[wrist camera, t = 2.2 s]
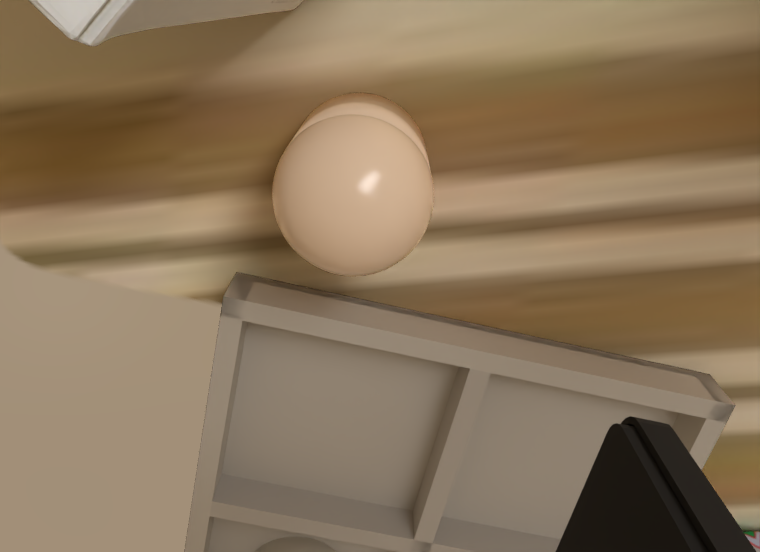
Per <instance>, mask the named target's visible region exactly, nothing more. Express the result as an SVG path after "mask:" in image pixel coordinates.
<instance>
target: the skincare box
mask: <svg viewBox="0 0 760 552" xmlns="http://www.w3.org/2000/svg"><path fill="white" fill-rule="evenodd" d="M29 1H30V2H31V3H32V4H33V5H34V6H35V7H36V8H37V9H38V10H39V11H40V12H41V13H42V14H43V15H44V16H45V17H46V18H47V19H48V20H50V21H51V22H52V23H53V24H54V25H55V26H57V27H58V28H59V29H60V30H61V31H62V32H63V33H64V34H65V35H66V36H67V37H68V38H70V39H72V40H75V41H78V42H80V43H83V44H85V45H88V46H98V45H99V44H101V43H103V42H104V41H106V40H108V39H111V38H113V37H117V36H121V35H125V34H130V33H134V32H139V31H144V30H149V29H155V28H163V27H170V26H178V25H186V24H193V23H201V22H208V21H215V20H221V19H228V18H235V17H243V16H250V15H257V14H264V13H271V12H282V11H289V10H294V9H295V8H296V7H297V6H298V5H300V4H301V3H302V2H303V1H304V0H29Z"/></svg>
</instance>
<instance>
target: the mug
mask: <svg viewBox="0 0 760 552" xmlns="http://www.w3.org/2000/svg"><path fill="white" fill-rule="evenodd" d="M743 533H744V534H745V536H746V537H747V539H748V540H749V541H750V543H751V544H752V546H753V547H754V549H755V550H756V552H760V531H748V532H743Z"/></svg>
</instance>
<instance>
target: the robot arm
mask: <svg viewBox="0 0 760 552" xmlns="http://www.w3.org/2000/svg"><path fill="white" fill-rule="evenodd" d="M556 552H756V550H755V549H754V547H753V546H752V544H751V543H750V541H749V540H748V539H747V537H746V536H745V534H744V533H743V531H742V530H741V528H740V527H739V525H738V524H737V522H736V521H735V519H734V518H733V516H732V515H731V513H730V512H729V511H728V509H727V508H726V506H725V505H724V503H723V502H722V500H721V499H720V497H719V496H718V494H717V493H716V491H715V490H714V488H713V487H712V485H711V484H710V483H709V481H708V480H707V478H706V477H705V475H704V474H703V472H702V471H701V469H700V468H699V466H698V465H697V463H696V462H695V460H694V459H693V457H692V456H691V454H690V453H689V452H688V450H687V449H686V447H685V446H684V444H683V443H682V441H681V440H680V438H679V437H678V435H677V434H676V432H675V431H674V429H673V428H672V427H671V426H670V425H669V424H666V423H662V422H657V421H652V420H647V419H642V418H637V417H632V416H630V417H627V418H625V419H624V420H623V421H622V422H621V424H618V423H615V424H613V425H612V426H611V427H610V428H609V430H608V432H607V434H606V436H605V438H604V441H603V443H602V445H601V448H600V450H599V452H598V455H597V457H596V459H595V462H594V464H593V466H592V469H591V471H590V473H589V475H588V478H587V480H586V482H585V485H584V487H583V489H582V492H581V494H580V496H579V499H578V501H577V503H576V506H575V508H574V510H573V513H572V515H571V517H570V520H569V522H568V524H567V526H566V529H565V531H564V533H563V536H562V538H561V540H560V543H559V545H558V547H557V550H556Z"/></svg>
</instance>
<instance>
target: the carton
mask: <svg viewBox="0 0 760 552" xmlns="http://www.w3.org/2000/svg"><path fill="white" fill-rule="evenodd" d="M734 407H735V404H734V403H733V402H732V401H731V399H730V398H729V397H728V396H727V395H726V393H725V392H724V391H723V390H722V388H721V387H720V386H719V385H718V384H717V382H716V381H715V380H714V379H713V378H712V376H711V375H710V374H705V373H701V372H696V371H691V370H687V369H682V368H677V367H673V366H668V365H664V364H659V363H654V362H650V361H645V360H640V359H636V358H631V357H627V356H622V355H617V354H613V353H608V352H603V351H599V350H594V349H589V348H585V347H580V346H576V345H571V344H566V343H562V342H557V341H552V340H548V339H543V338H539V337H534V336H529V335H525V334H520V333H515V332H511V331H506V330H502V329H497V328H492V327H488V326H483V325H478V324H474V323H469V322H465V321H460V320H455V319H451V318H446V317H441V316H437V315H432V314H427V313H423V312H418V311H414V310H409V309H404V308H400V307H395V306H390V305H386V304H381V303H377V302H372V301H367V300H363V299H358V298H353V297H349V296H344V295H340V294H335V293H330V292H326V291H321V290H316V289H312V288H307V287H303V286H298V285H293V284H289V283H284V282H279V281H275V280H270V279H265V278H261V277H256V276H252V275H247V274H242V273H238V272H236V274H235V276H234V278H233V280H232V281H231V283H230V285H229V287H228V289H227V291H226V292H225V294H224V296H223V302H222V308H221V315H220V321H219V328H218V335H217V341H216V348H215V354H214V361H213V367H212V374H211V380H210V387H209V393H208V400H207V407H206V414H205V420H204V426H203V433H202V439H201V446H200V452H199V459H198V465H197V472H196V479H195V485H194V492H193V498H192V505H191V511H190V518H189V524H188V531H187V537H186V544H185V550H184V552H255V551H256V550H257V549H258V548H259V547H261V546H262V545H264V544H266V543H267V542H270V541H272V540H275V539H278V538H283V537H306V538H310V539H314V540H317V541H320V542H322V543H324V544H326V545H328V546H330V547H331V548H333V549H334V550H335V551H336V552H556V550H557V547H558V545H559V543H560V540H561V538H562V536H563V533H564V531H565V529H566V526H567V524H568V522H569V520H570V517H571V515H572V513H573V510H574V508H575V506H576V503H577V501H578V499H579V496H580V494H581V492H582V489H583V487H584V485H585V482H586V480H587V478H588V475H589V473H590V471H591V469H592V466H593V464H594V462H595V459H596V457H597V455H598V452H599V450H600V448H601V445H602V443H603V441H604V438H605V436H606V434H607V432H608V430H609V428H610V427H611V426H612V425H613V424H615V423H618V424H621V422H622V421H623V420H624V419H625V418H627V417H630V416H632V417H637V418H642V419H647V420H652V421H657V422H662V423H666V424H669V425H670V426H671V427H672V428H673V429H674V431H675V432H676V434H677V435H678V437H679V438H680V440H681V441H682V443H683V444H684V446H685V447H686V449H687V450H688V452H689V453H690V454H691V456H692V457H693V459H694V460H695V462H696V463H697V465H698V466H699V468H700V469H701V470H702V469H703V467H704V465H705V463H706V461H707V459H708V457H709V455H710V453H711V451H712V449H713V448H714V446H715V444H716V442H717V440H718V438H719V436H720V434H721V432H722V430H723V428H724V426H725V425H726V423H727V421H728V419H729V417H730V415H731V413H732V411H733V409H734Z"/></svg>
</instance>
